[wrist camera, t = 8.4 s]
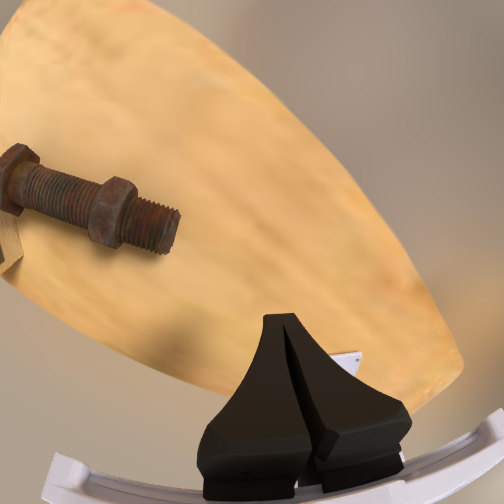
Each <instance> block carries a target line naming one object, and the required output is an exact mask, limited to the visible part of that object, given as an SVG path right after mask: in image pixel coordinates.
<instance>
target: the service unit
mask: <svg viewBox="0 0 504 504" xmlns="http://www.w3.org/2000/svg"><path fill="white" fill-rule="evenodd" d="M23 255H24V254H23V250H22V247H21V243H20V240H19V236H18V232H17V228H16V224H15V219H14V215H13V214H10V213H7V212H5V211H2V210H0V274H2V273H4V272H5V271H6V270H7V269H8V268H9V267H11V266H12V265H13V263H14V262H15V261H17V260H18V259H19V258H20V257H22V256H23Z"/></svg>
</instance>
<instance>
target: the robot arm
mask: <svg viewBox="0 0 504 504" xmlns="http://www.w3.org/2000/svg"><path fill="white" fill-rule="evenodd" d="M361 359H362V353H361V352H351V353H344V354H336V355H328V354H327V353H326V352H325V351H324V350H323V349H322V348H321V347H320V346H319V345H318V343H317V342H316V341H315V340H314V339H313V338H312V336H311V335H310V334H309V333H308V331H307V330H306V329H305V328H304V326H303V325H302V323H301V322H300V321H299V319H298V318H297V316H296V315H295V314H294V313H285V314H266V315H265V316H263V330H262V335H261V338H260V342H259V345H258V348H257V351H256V353H255V356H254V358H253V361H252V363H251V365H250V367H249V369H248V371H247V373H246V375H245V377H244V379H243V380H242V382H241V384H240V385H239V387H238V389H237V390H236V392H235V393H234V394H233V396H232V397H231V398H230V400H229V401H228V402H227V404H226V405H225V406H224V408H223V409H222V410H221V411H220V412H219V413H218V414H217V415H216V416H215V418H214V419H213V420H212V421H211V422H210V423H209V424H208V425H207V427H206V429H205V431H204V434H203V436H202V438H201V442H200V444H199V448H198V452H197V467H198V469H199V471H200V472H201V474H202V476H203V478H204V483H203V490H192V489H182V488H173V487H166V486H160V485H154V484H148V483H143V482H138V481H133V480H129V479H124V478H120V477H116V476H112V475H109V474H105V473H102V472H98V471H95V470H92V469H90V468H89V466H87V465H86V464H85V463H83V462H82V461H80V460H78V459H75V458H72V457H69V456H67V455H64V454H62V453H59V452H56V453H55V455H54V458H53V460H52V463H51V466H50V469H49V472H48V475H47V478H46V481H45V485H44V488H43V491H42V495H41V498H42V499H43V500H45V501H47V502H49V503H50V504H434V503H436V502H438V501H440V500H442V499H444V498H446V497H447V496H449V495H451V494H453V493H454V492H456V491H458V490H459V489H461V488H463V487H464V486H466V485H468V484H469V483H471V482H472V481H474V480H475V479H477V478H478V477H479V476H481V475H483V474H484V473H485V472H487V471H488V470H490V469H491V468H492V467H494V466H495V465H496V464H497V463H499V462H500V461H501V460H502V459H503V458H504V411H503V410H502V408H499V409H498V410H496V411H495V412H493V413H491V414H490V415H488V416H487V417H486V418H485V419H483V420H482V421H481V422H480V424H479V425H478V426H477V428H475V429H473V430H472V431H470V432H468V433H466V434H464V435H462V436H461V437H459V438H457V439H455V440H453V441H451V442H449V443H447V444H445V445H443V446H441V447H438V448H436V449H434V450H432V451H430V452H427V453H425V454H423V455H420V456H418V457H415V458H413V459H410V460H407V461H405V459H404V457H403V453H402V451H401V446H400V444H399V442H400V441H401V440H402V439H403V437H404V436H405V435H406V434H407V433H408V431H409V430H410V428H411V426H412V420H411V418H410V416H409V414H408V412H407V410H406V408H405V406H404V405H403V403H402V402H401V401H399V400H397V399H395V398H392V397H390V396H388V395H385V394H383V393H381V392H379V391H377V390H375V389H373V388H372V387H370V386H368V385H366V384H365V383H363V382H362V381H360V380H359V379H357V378H356V377H355V375H356V373H357V370H358V367H359V365H360V362H361Z"/></svg>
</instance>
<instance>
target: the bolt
mask: <svg viewBox="0 0 504 504" xmlns="http://www.w3.org/2000/svg"><path fill="white" fill-rule="evenodd" d="M39 162H40V157H39V156H38V155H37V154H35V153H34V152H33V151H32V150H31V149H30V148H29V147H28V146H27V145H24V144H19V143H17V144H15V145H14V146H12V147H11V148H9V149H8V150H7V151H6V152H5V153H4V154H3V155H2V156H1V157H0V210H2V211H5V212H7V213H10V214H13V215H15V216H18V217H19V215H20V214H21V213H22V211H23V210H24V208H27V209H33V210H36V211H39V212H41V213H44V214H46V215H48V216H51V217H54V218H56V219H59V220H62V221H65V222H68V223H70V224H73V225H76V226H79V227H81V228H84V229H87V230H88V234H89V237H90V240H92V241H95V242H97V243H100V244H103V245H106V246H108V247H111V248H114V249H116V248H118V247H120V245H121V244H122V243H124V242H126V243H127V244H130V243H131V245H132V246H134V245H136V247H139V246H140V247H141V249H143V248H144V247H145V249H146V250H148V249H150V251H151V252H152V251H153V250H154V252H155V253H157V252H159V254H160V255H161V254H163V253H164V254H165V255H166V254H168V253H169V252H170V248H171V247H172V246H173V242H174V239H175V235H176V231H177V228H178V224H179V220H180V217H181V215H180V214H179V212H178V209H177V210H175V211H174V209H173V208H171V209H169V206H168V207H166V208H165V206H164V205H162V206H160V204H159V203H158V204H155V202H152V203H151V201H150V200H148V201H146V199H143V200H142V198H141V197H139V198H138V189H137V188H136V186H135V185H134V184H133V183H131V182H130V181H129V180H125V179H122V178H119V177H116V176H114V177H112V178H111V179H109V180H108V181H106V182H105V183H104V184H103V185H99V184H98V183H95V182H91V181H87V180H83V179H82V178H81V179H80V178H78V177H75V176H72V175H69V174H65V173H62V172H59V171H55V170H52V169H49V168H46V167H44V166H43V165H40V164H39Z"/></svg>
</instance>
